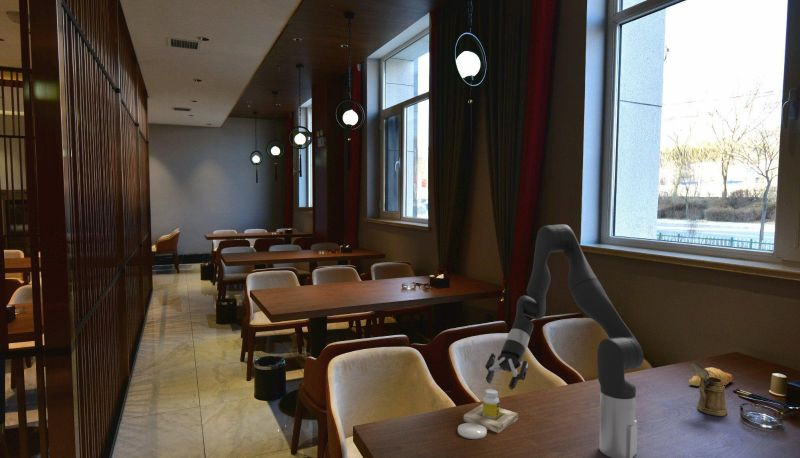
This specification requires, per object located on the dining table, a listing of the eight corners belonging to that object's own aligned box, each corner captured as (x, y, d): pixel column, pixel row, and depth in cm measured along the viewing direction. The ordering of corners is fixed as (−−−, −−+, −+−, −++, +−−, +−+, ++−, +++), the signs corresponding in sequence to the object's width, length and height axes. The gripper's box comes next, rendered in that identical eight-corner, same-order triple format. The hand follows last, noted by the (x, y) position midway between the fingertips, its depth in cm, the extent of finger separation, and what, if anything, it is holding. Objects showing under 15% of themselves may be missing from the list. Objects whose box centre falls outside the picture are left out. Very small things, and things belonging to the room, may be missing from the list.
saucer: (492, 431, 151) (492, 428, 151) (476, 441, 145) (476, 438, 145) (467, 423, 157) (467, 420, 157) (452, 432, 150) (452, 429, 150)
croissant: (695, 397, 189) (704, 383, 185) (677, 378, 197) (684, 364, 193) (737, 391, 194) (746, 377, 190) (717, 372, 203) (726, 358, 199)
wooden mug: (681, 409, 169) (682, 358, 168) (708, 404, 173) (710, 354, 173) (705, 420, 160) (707, 366, 160) (733, 414, 165) (735, 362, 164)
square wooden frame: (518, 419, 160) (518, 413, 160) (498, 432, 150) (498, 426, 150) (484, 408, 169) (484, 403, 169) (463, 420, 159) (463, 414, 159)
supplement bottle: (499, 424, 156) (499, 394, 156) (482, 423, 157) (482, 393, 157) (499, 417, 162) (499, 388, 161) (482, 416, 163) (483, 387, 162)
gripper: (494, 335, 174) (477, 374, 166) (531, 342, 165) (514, 384, 156) (501, 346, 178) (484, 385, 170) (537, 354, 169) (522, 396, 161)
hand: (499, 385), depth 163 cm, fingers open, 8 cm apart
